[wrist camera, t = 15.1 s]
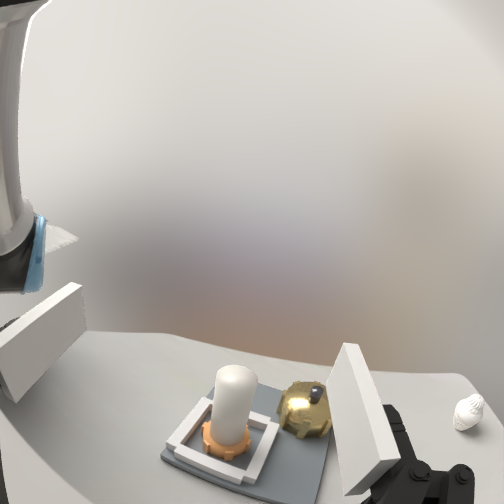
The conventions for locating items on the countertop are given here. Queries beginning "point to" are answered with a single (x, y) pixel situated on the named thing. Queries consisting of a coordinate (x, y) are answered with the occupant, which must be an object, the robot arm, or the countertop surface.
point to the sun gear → (305, 410)
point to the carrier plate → (253, 454)
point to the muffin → (468, 412)
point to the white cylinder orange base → (230, 413)
